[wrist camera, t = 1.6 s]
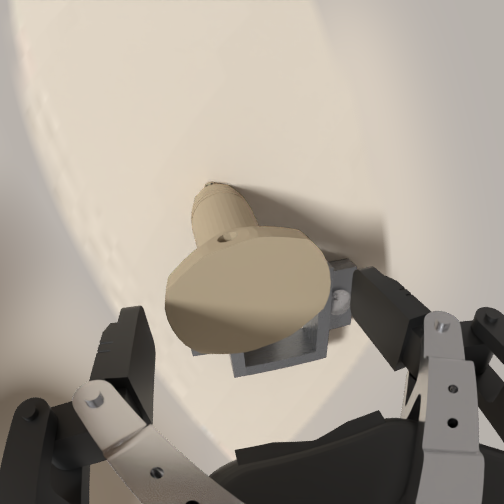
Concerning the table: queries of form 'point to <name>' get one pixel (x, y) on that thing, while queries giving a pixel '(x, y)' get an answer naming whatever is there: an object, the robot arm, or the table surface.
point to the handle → (243, 279)
